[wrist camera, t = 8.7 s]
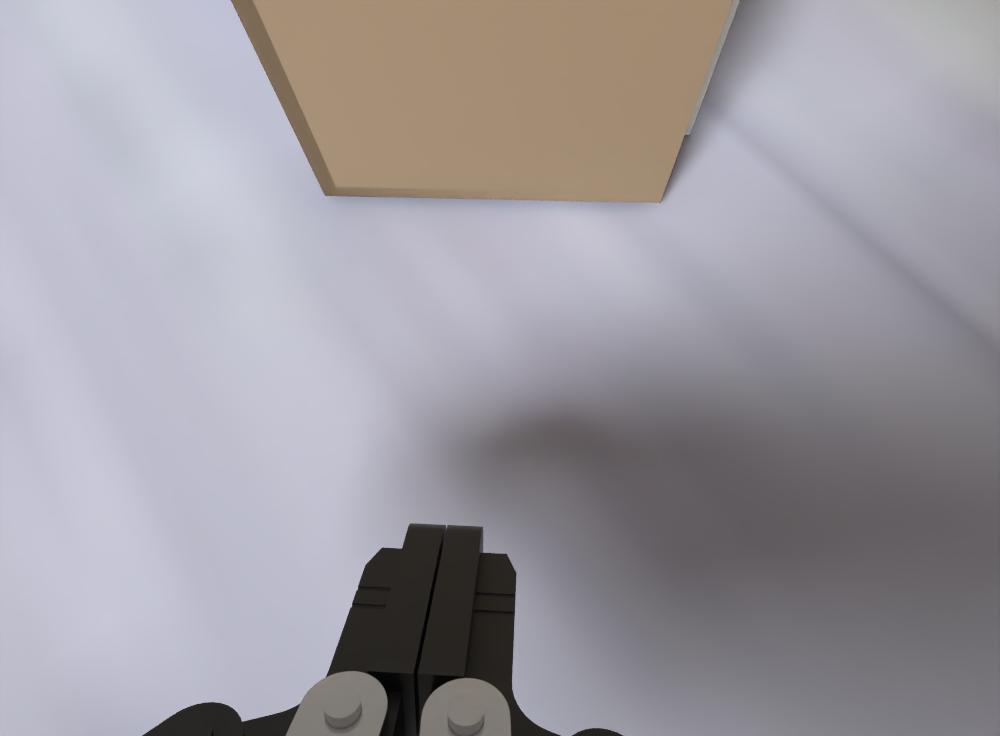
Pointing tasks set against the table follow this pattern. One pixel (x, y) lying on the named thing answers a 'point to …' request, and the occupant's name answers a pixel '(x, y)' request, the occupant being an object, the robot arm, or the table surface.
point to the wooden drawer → (488, 93)
